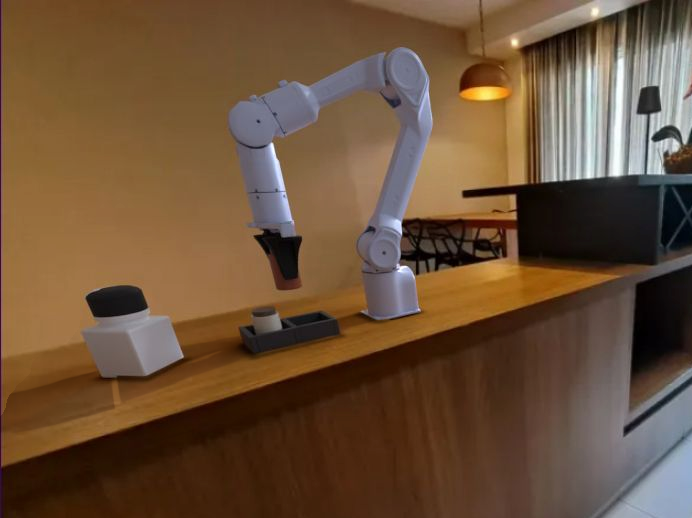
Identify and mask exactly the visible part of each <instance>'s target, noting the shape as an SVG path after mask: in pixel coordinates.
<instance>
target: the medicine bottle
mask: <svg viewBox="0 0 692 518" xmlns="http://www.w3.org/2000/svg"><path fill="white" fill-rule="evenodd" d="M84 299H85V302H86V304H87V306H88V308H89V310H90V312H91V315H92V317H93V319H94V321H95V322H96V323H98V324H95V325H92V326H88V327H85V328H83V329H81V330H80V334H81V336H82V338H83V340H84V342H85V344H86V347H87V349H88V351H89V353H90V355H91V357H92V359H93V362H94V363H95V366H96V368H97V370H98V372H99V374H100V376H101V377H102V378H106V379H118V376H121V377H122V376H124V377H125V376H126V377H128V376H129V377H145V376H146V377H147V376H149V375H151V374H153V373H155V372H157V371H159V370H162V369H163V368H165V367H167V366H170V365H172V364H173V363H175V362H177V361H179V360H181V359H184V358H185V356H184V353H183V351H182V349H181V346H180V343H179V340H178V337H177V335H176V333H175V330H174V327H173V324H172V322H171V319H170V317H169V316H168V315H149V314H151V310H150V308H149V305H148V302H147V300H146V297H145V295H144V292H143V290H142V288H140V287H139V286H135V285H131V284H119V285H110V286H104V287H99V288H94V289H92V290H91V291H88V293H86V294H85V296H84Z"/></svg>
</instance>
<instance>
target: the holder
mask: <svg viewBox="0 0 692 518" xmlns="http://www.w3.org/2000/svg"><path fill="white" fill-rule="evenodd" d="M280 320H281V324H282V328H283V329H282V330H277V331H273V332H268V333H263V334H259V335H256V333H255V330H254V326H253V323H252V324H249V325H248V324H247V325H242V326H238V331H239V335H240V339H241V341H242V343H243V344H244V345H245V346H246V347H247V349H248V350H250V351H251V352H252V354H254V355H256V354H260V353H264V352H269V351H272V350H276V349H281V348H285V347H290V346H294V345H298V344H302V343H306V342H310V341H315V340H319V339H323V338H327V337H332V336H335V335H340V334H341V331H340V325H339V320H338V318H337V317H335V316H333V315H331V314H329V313H328V312H325V311H323V310H317V311H313V312H307V313H301V314H297V315H293V316H286V317H282V318H280Z"/></svg>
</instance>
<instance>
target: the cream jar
mask: <svg viewBox="0 0 692 518" xmlns="http://www.w3.org/2000/svg"><path fill="white" fill-rule="evenodd" d="M276 309H277V308H276V307H275V306H270V305H269V306H259V307H256V308H252V309H251V314H250V320H251V323H252V324H253V326H254V330H255V333H256V335H259V334H263V333H268V332H273V331H277V330H282V329H283V328H282V324H281V320H280V319H281V317H280V313H279V311H277V310H276Z"/></svg>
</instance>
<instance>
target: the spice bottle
mask: <svg viewBox="0 0 692 518" xmlns="http://www.w3.org/2000/svg"><path fill="white" fill-rule="evenodd" d="M269 249H270V248H269ZM268 258H269V259H268ZM267 259H268V262H269V267H270V270H271V274H272V277H273V282H274V285H275V289H276V290H277V291H293V290H298V289H301V288H302V287H303V284H302V278H301V275H300V270H299V269H300V268H298V278H296V279H289V280H285V279H284V278H283V276H282V274H281V272H280V269H279V267H278V264H277V261H276V259H275V257H274V255H273V253H272V251H271V250H270V253H268V257H267Z"/></svg>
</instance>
